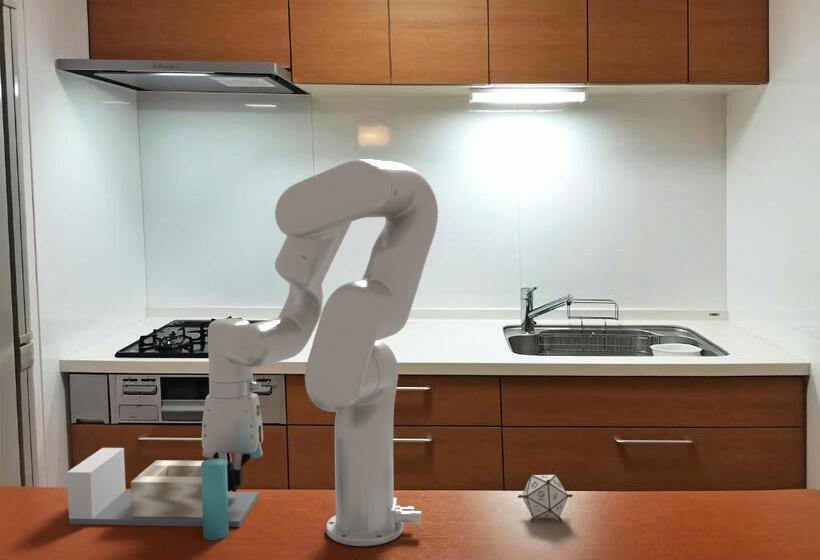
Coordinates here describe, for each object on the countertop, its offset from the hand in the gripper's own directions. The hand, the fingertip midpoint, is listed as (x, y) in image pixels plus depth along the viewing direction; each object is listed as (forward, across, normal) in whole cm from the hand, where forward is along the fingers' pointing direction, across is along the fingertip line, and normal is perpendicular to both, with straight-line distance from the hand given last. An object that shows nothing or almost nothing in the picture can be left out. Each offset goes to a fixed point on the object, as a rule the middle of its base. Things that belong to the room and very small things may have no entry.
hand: (233, 488), depth 134 cm
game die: (+3, -55, +4) cm, 55 cm away
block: (+2, +9, +4) cm, 10 cm away
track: (+3, +10, +4) cm, 11 cm away
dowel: (+3, -1, +13) cm, 13 cm away
